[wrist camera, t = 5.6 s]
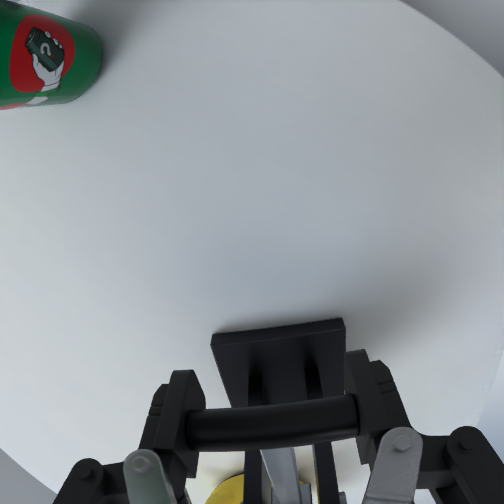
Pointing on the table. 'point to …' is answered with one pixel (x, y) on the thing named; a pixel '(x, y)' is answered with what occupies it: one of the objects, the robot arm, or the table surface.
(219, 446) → the lever
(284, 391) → the bracket
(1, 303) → the table surface
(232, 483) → the teapot
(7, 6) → the soda can
